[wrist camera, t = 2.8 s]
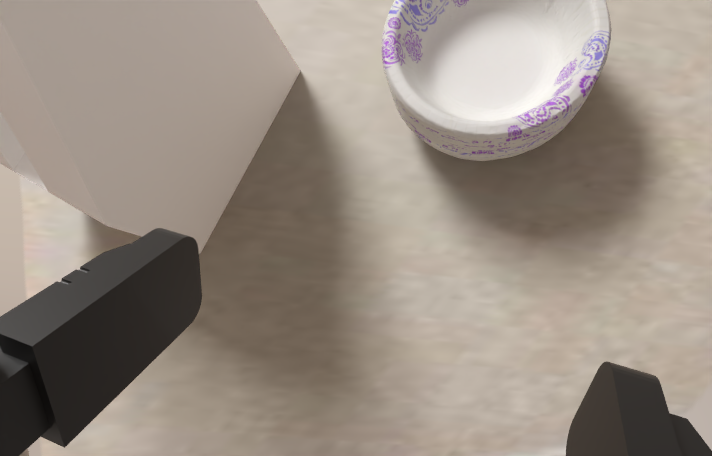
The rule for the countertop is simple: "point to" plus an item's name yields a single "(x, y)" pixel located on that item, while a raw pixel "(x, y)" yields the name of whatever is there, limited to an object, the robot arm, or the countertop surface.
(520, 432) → the countertop surface
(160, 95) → the white house shaped block
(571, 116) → the paper bowls
